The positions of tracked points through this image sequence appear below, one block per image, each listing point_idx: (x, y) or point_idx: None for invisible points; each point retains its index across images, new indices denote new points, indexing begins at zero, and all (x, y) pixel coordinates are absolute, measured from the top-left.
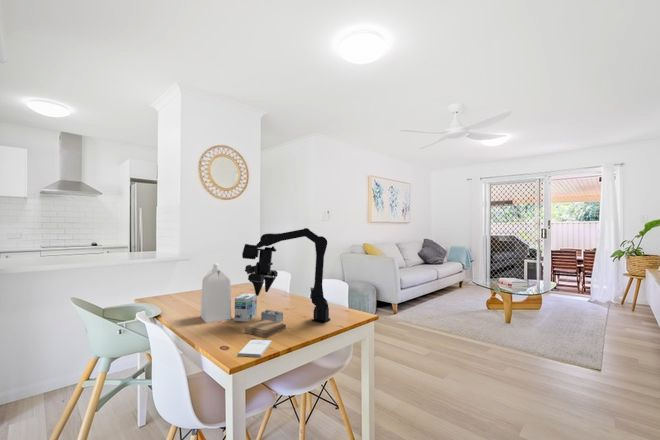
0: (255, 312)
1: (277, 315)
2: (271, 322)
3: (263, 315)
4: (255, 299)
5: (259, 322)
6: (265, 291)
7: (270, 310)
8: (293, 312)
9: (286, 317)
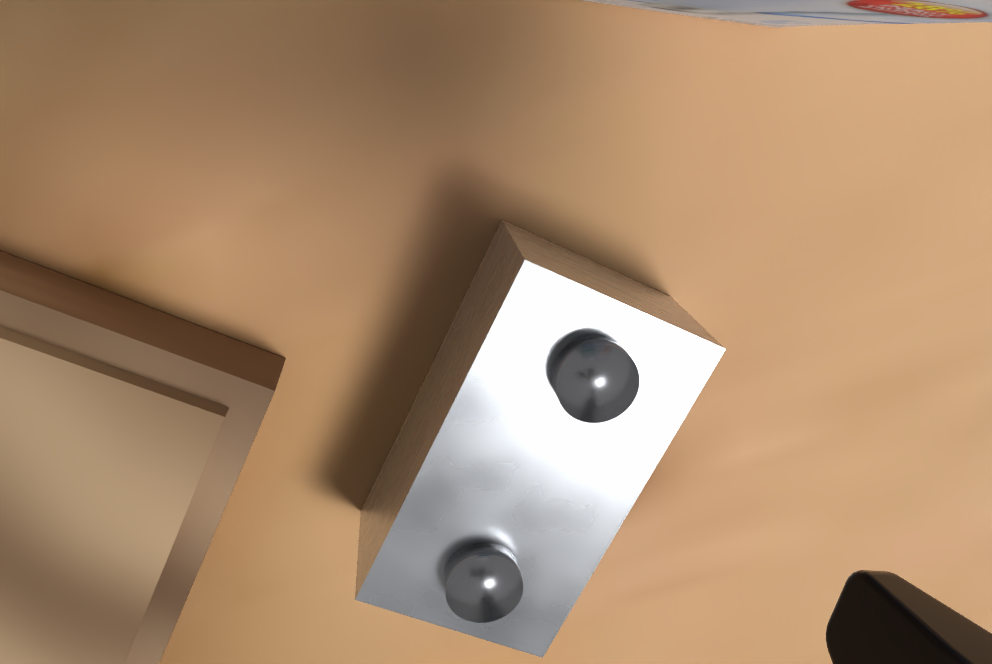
0: (760, 18)
1: (396, 601)
2: (80, 579)
3: (490, 296)
4: (953, 4)
5: (12, 381)
6: (856, 589)
7: (668, 403)
8: (937, 593)
9: (679, 569)
